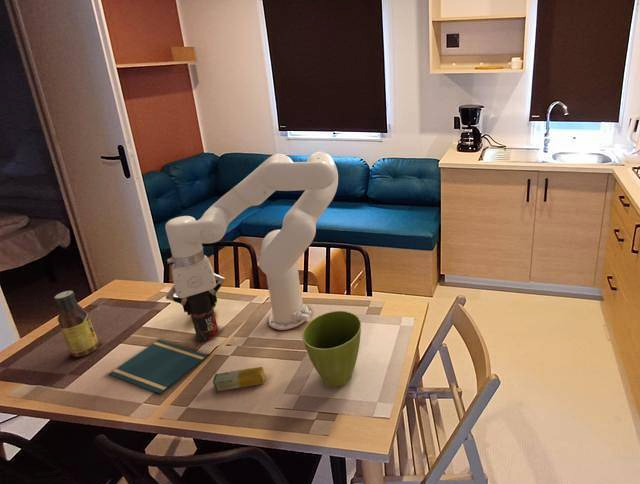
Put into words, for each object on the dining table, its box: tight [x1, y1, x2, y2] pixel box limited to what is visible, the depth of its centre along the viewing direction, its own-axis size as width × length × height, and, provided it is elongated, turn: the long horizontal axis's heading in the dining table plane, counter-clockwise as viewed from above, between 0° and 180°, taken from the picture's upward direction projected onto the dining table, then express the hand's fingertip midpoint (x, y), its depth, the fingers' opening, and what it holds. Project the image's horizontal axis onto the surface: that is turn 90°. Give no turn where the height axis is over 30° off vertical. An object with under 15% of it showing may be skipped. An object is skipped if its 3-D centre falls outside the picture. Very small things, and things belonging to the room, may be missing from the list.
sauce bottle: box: [53, 290, 99, 358], centre depth 113 cm, size 6×6×20 cm
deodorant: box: [187, 290, 219, 342], centre depth 121 cm, size 6×6×15 cm
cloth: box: [108, 339, 208, 395], centre depth 111 cm, size 20×14×1 cm
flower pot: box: [301, 310, 362, 388], centre depth 105 cm, size 15×15×16 cm
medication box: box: [212, 366, 266, 393], centre depth 104 cm, size 12×3×4 cm, turn 101°
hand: (201, 308), depth 120 cm, fingers closed on deodorant, 6 cm apart
